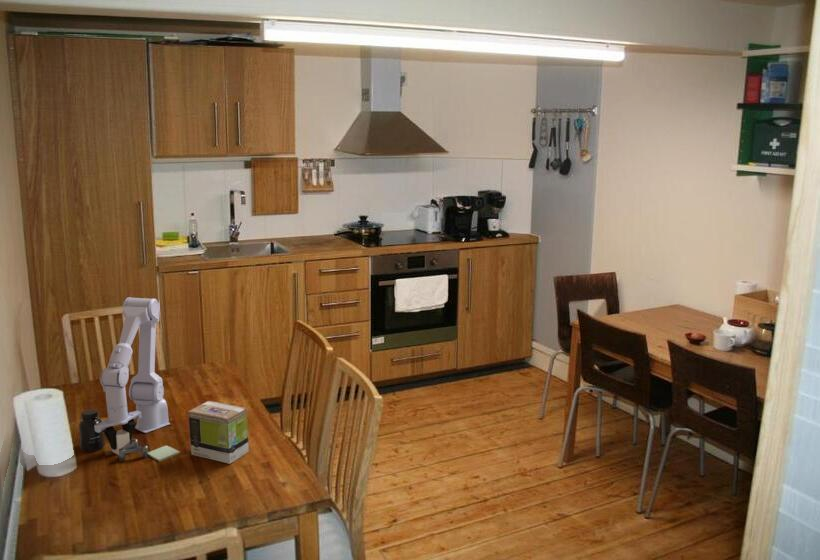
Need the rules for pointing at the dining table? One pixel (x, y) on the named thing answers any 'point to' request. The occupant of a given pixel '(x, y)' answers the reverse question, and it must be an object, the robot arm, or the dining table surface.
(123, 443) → the block
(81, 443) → the supplement bottle
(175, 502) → the dining table surface
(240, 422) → the tea box
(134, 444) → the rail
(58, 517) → the dining table surface
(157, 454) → the pad
